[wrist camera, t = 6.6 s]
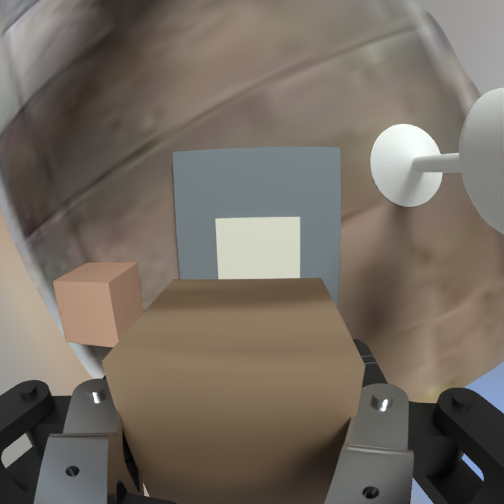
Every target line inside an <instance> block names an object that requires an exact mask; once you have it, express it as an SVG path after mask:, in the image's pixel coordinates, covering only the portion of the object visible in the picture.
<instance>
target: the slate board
mask: <svg viewBox="0 0 504 504" xmlns="http://www.w3.org/2000/svg"><path fill="white" fill-rule="evenodd" d="M173 175H174V198H175V216H176V232H177V246H178V259H179V271H180V279H277V278H322V280H323V282H324V284H325V286H326V288H327V290H328V292H329V294H330V296H331V298H332V299H333V301H334V303H335V305H336V307H337V306H338V289H339V267H340V234H341V168H340V147H250V148H226V149H208V150H194V151H181V152H173Z"/></svg>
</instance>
